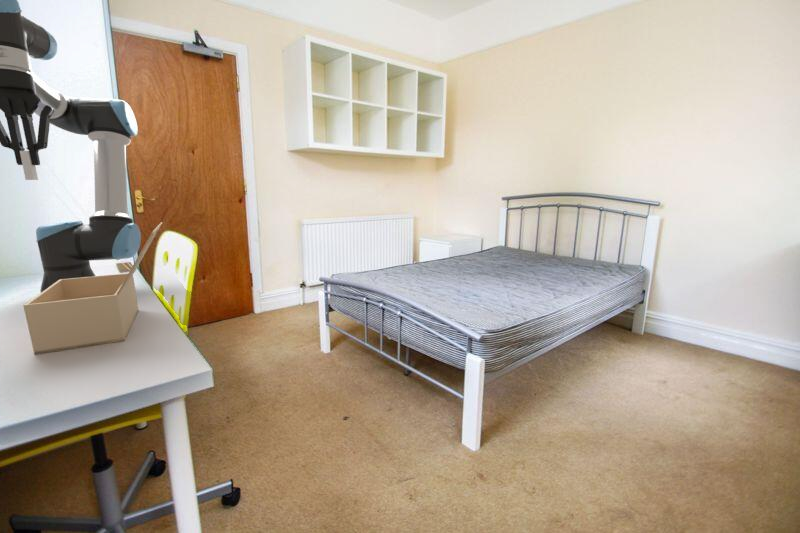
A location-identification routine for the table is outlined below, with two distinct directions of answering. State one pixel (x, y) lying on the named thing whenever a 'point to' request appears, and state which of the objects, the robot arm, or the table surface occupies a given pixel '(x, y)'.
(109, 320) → the carton
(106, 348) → the table surface
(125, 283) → the carton lid
